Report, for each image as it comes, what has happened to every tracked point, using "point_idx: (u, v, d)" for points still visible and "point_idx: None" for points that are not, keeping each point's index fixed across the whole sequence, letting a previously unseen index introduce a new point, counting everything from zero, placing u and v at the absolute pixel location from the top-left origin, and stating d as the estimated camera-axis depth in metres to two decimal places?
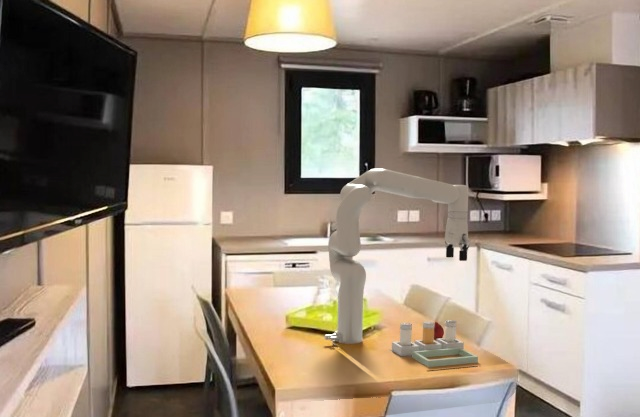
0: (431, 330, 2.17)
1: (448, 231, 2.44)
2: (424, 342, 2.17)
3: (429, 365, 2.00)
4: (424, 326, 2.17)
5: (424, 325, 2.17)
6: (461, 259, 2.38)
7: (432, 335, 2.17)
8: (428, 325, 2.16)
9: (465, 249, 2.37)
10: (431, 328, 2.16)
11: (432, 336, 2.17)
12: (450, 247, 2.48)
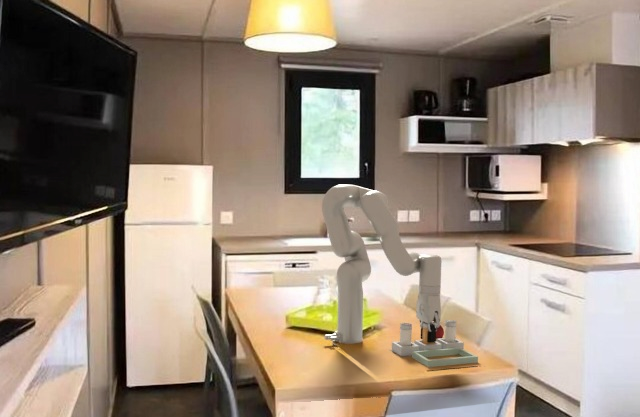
0: None
1: (419, 306, 2.19)
2: (424, 342, 2.17)
3: (429, 365, 2.00)
4: (424, 326, 2.17)
5: (424, 325, 2.17)
6: (429, 341, 2.16)
7: None
8: None
9: (433, 330, 2.15)
10: None
11: None
12: None
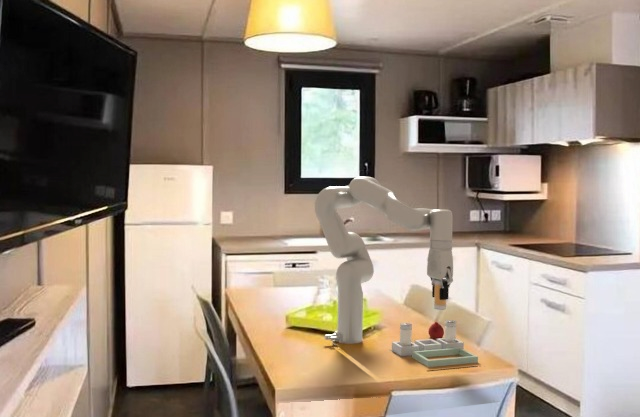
0: None
1: (430, 263, 2.12)
2: (436, 300, 2.10)
3: (429, 365, 2.00)
4: (436, 283, 2.10)
5: (436, 282, 2.10)
6: (442, 298, 2.09)
7: None
8: None
9: (446, 286, 2.08)
10: None
11: None
12: None
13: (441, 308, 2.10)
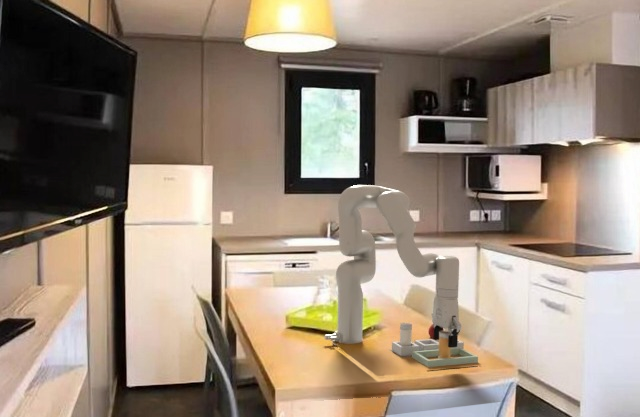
0: None
1: (436, 310, 2.08)
2: (441, 352, 2.07)
3: (429, 365, 2.00)
4: (441, 336, 2.06)
5: (441, 334, 2.06)
6: (450, 345, 2.03)
7: None
8: (445, 335, 2.06)
9: (455, 334, 2.01)
10: None
11: None
12: (438, 328, 2.12)
13: None
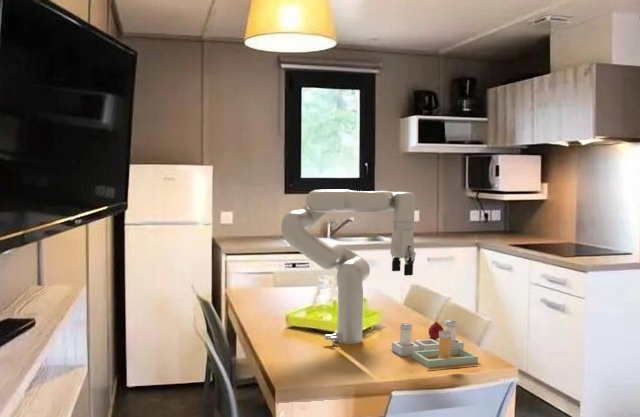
0: (448, 340, 2.06)
1: (393, 243, 2.23)
2: (441, 352, 2.07)
3: (429, 365, 2.00)
4: (441, 336, 2.06)
5: (441, 334, 2.06)
6: (406, 274, 2.17)
7: (449, 345, 2.06)
8: (445, 335, 2.06)
9: (410, 263, 2.16)
10: (448, 337, 2.06)
11: (449, 346, 2.06)
12: (396, 260, 2.27)
13: None
